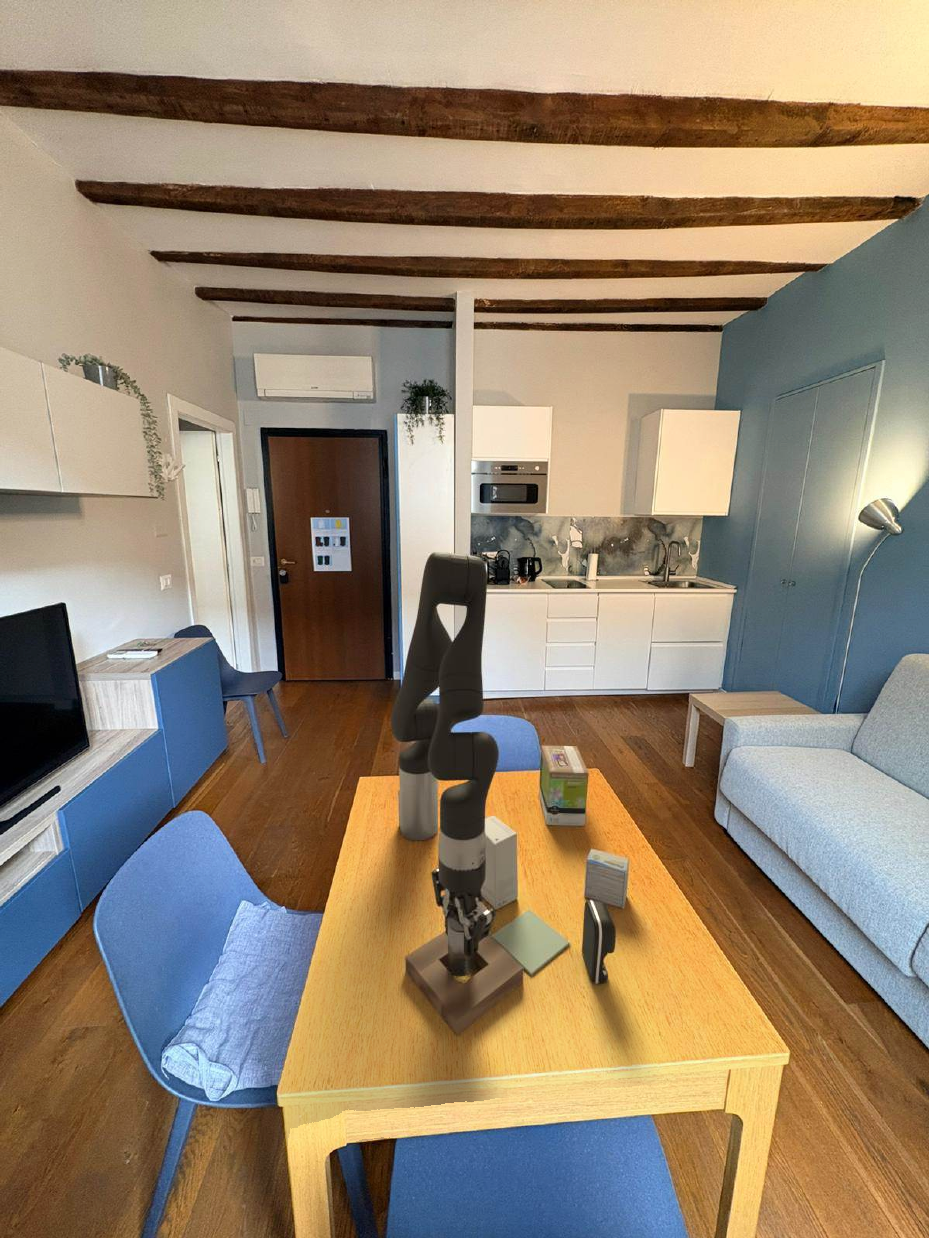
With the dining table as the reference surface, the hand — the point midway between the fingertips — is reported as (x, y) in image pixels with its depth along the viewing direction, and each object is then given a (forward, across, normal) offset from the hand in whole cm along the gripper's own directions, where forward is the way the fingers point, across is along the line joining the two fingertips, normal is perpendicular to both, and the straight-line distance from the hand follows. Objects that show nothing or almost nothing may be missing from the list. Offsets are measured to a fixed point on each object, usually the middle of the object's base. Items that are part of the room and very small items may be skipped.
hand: (461, 942), depth 84 cm
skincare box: (+7, -11, +18) cm, 22 cm away
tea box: (+7, -22, +51) cm, 56 cm away
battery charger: (+7, +13, +20) cm, 25 cm away
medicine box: (+7, +4, +34) cm, 35 cm away
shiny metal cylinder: (+4, 0, 0) cm, 4 cm away
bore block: (+7, 0, 0) cm, 7 cm away
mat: (+7, +2, +14) cm, 16 cm away
